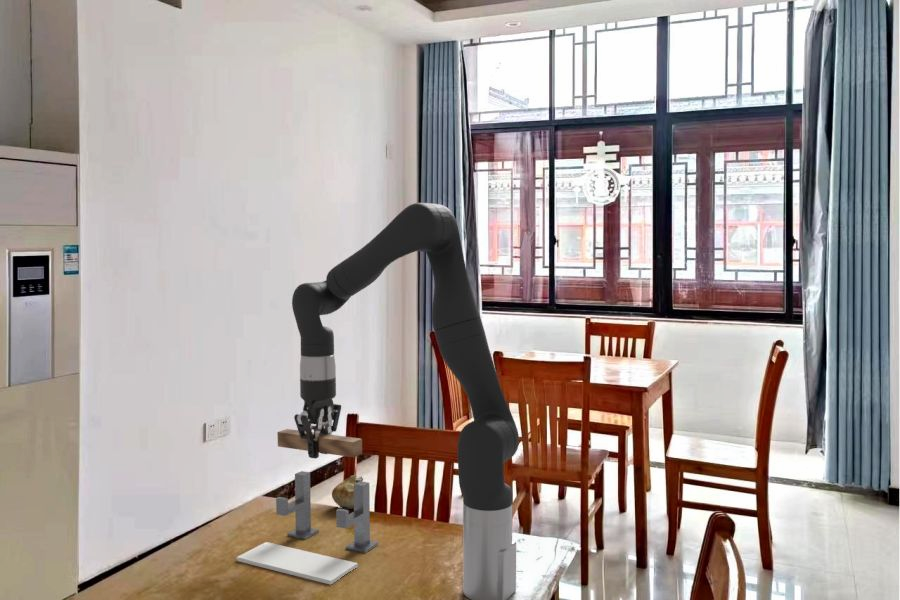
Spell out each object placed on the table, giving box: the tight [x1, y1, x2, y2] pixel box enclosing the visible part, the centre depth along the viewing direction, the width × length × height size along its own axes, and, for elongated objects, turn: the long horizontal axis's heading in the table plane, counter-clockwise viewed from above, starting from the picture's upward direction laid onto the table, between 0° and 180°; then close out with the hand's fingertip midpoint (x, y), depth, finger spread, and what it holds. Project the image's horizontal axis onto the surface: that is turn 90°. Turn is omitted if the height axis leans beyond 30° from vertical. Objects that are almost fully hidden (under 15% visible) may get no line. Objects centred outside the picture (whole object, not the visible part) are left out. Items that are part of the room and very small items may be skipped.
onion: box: [331, 474, 364, 510], centre depth 185 cm, size 8×8×8 cm
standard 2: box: [335, 481, 379, 554], centre depth 158 cm, size 5×10×14 cm, turn 153°
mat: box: [236, 541, 359, 586], centre depth 152 cm, size 24×9×1 cm, turn 63°
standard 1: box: [275, 470, 320, 540], centre depth 166 cm, size 5×10×14 cm, turn 153°
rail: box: [276, 428, 363, 458], centre depth 159 cm, size 20×3×3 cm, turn 63°
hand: (319, 455), depth 159 cm, fingers closed on rail, 3 cm apart
